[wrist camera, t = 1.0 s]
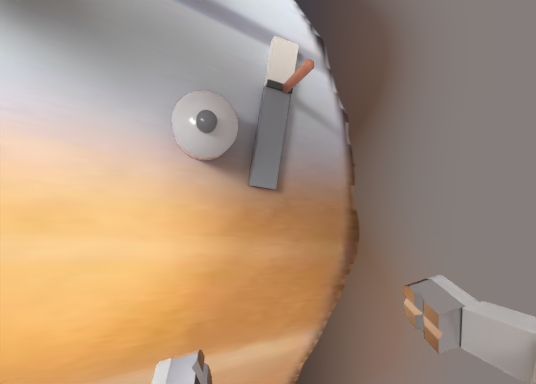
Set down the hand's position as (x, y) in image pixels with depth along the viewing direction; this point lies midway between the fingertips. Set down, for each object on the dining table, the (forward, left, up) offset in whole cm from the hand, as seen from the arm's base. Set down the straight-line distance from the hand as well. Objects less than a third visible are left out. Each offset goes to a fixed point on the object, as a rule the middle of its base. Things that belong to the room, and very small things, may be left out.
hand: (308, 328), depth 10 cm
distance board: (+8, +20, -38) cm, 44 cm away
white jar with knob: (-4, +14, -38) cm, 41 cm away
